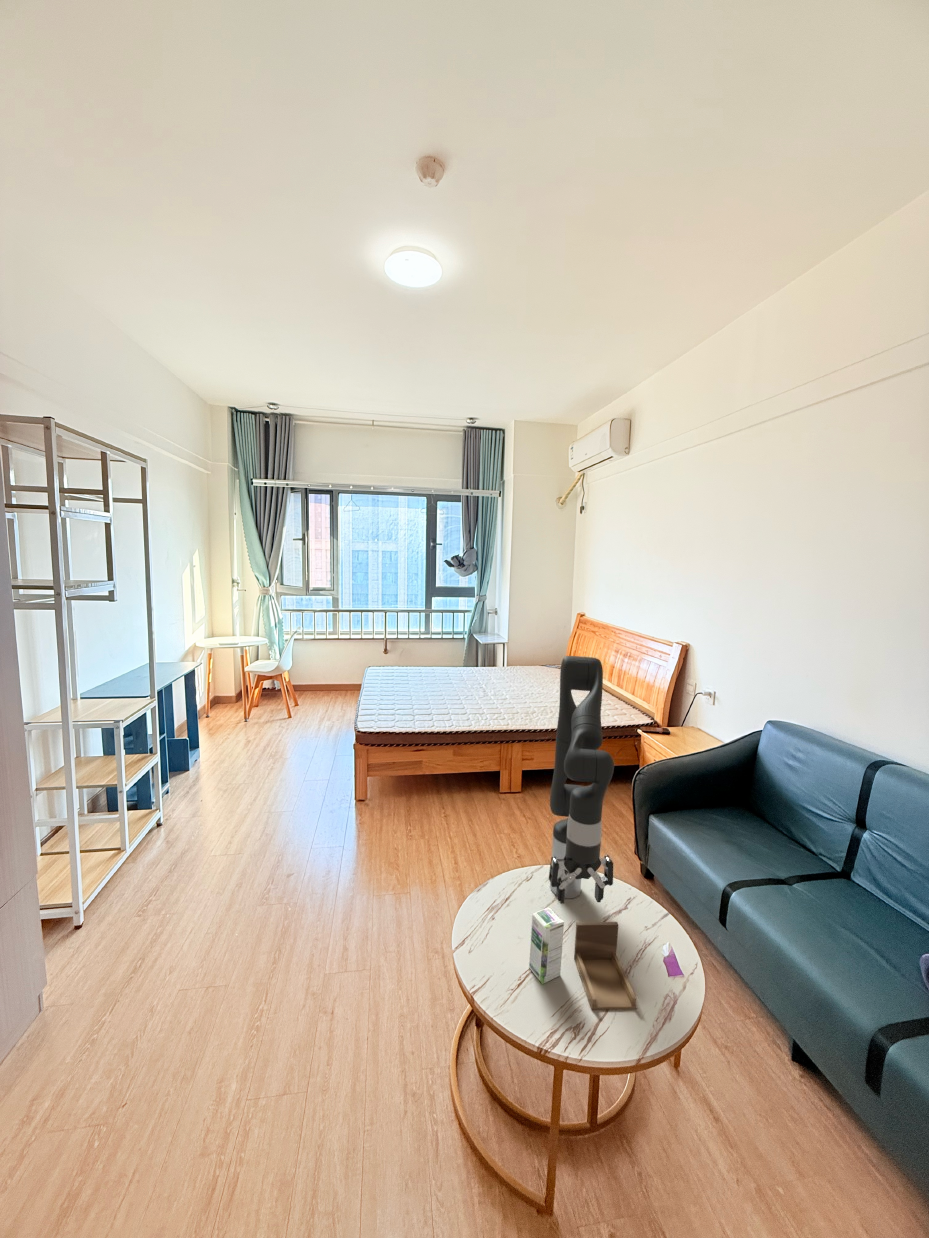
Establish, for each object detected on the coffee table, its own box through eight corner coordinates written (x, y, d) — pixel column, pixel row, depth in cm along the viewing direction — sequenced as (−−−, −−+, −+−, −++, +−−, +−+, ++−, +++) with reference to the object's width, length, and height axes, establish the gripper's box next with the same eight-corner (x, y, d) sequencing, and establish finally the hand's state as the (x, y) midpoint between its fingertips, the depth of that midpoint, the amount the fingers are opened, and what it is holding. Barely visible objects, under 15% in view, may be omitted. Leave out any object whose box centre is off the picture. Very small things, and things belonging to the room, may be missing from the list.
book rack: (573, 958, 123) (576, 922, 122) (614, 958, 124) (616, 921, 123) (591, 1009, 109) (594, 968, 108) (636, 1008, 110) (639, 967, 109)
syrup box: (527, 967, 120) (530, 913, 119) (546, 958, 123) (549, 905, 121) (542, 985, 115) (545, 929, 114) (561, 975, 118) (565, 920, 117)
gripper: (608, 825, 114) (603, 888, 116) (548, 826, 112) (544, 890, 115) (621, 844, 106) (615, 911, 108) (557, 845, 105) (552, 913, 107)
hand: (579, 900), depth 111 cm, fingers open, 8 cm apart
